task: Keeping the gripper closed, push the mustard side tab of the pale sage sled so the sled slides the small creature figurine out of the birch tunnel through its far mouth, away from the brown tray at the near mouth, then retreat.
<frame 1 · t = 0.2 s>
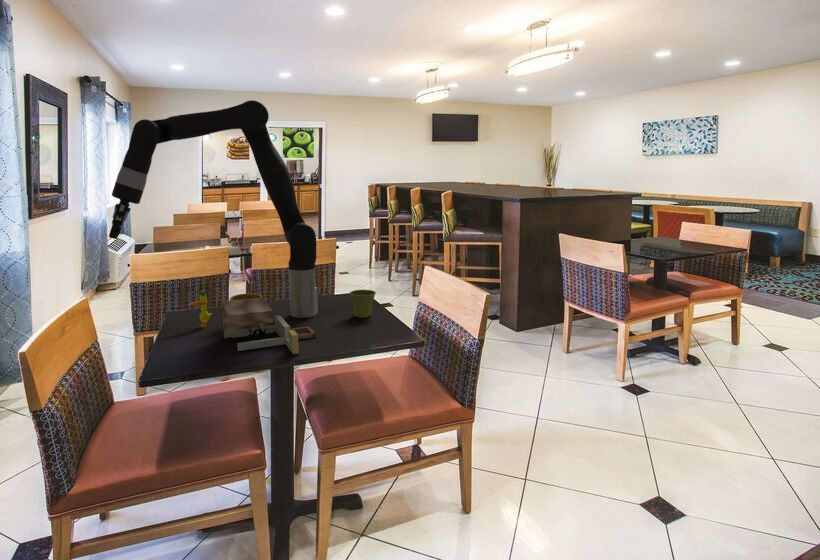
hand: (113, 236, 149), 31 cm above the table, tool tilted 20°, fingers open, 8 cm apart
plant pot: (247, 325, 169), on the table
tunnel: (248, 342, 150), on the table
sled: (263, 335, 147), point 3 cm above the table, slide at 0.0 cm
brown tray: (301, 335, 157), on the table
plant pot 2: (362, 316, 180), on the table
toy figure: (202, 327, 166), on the table
creature: (253, 343, 151), on the table
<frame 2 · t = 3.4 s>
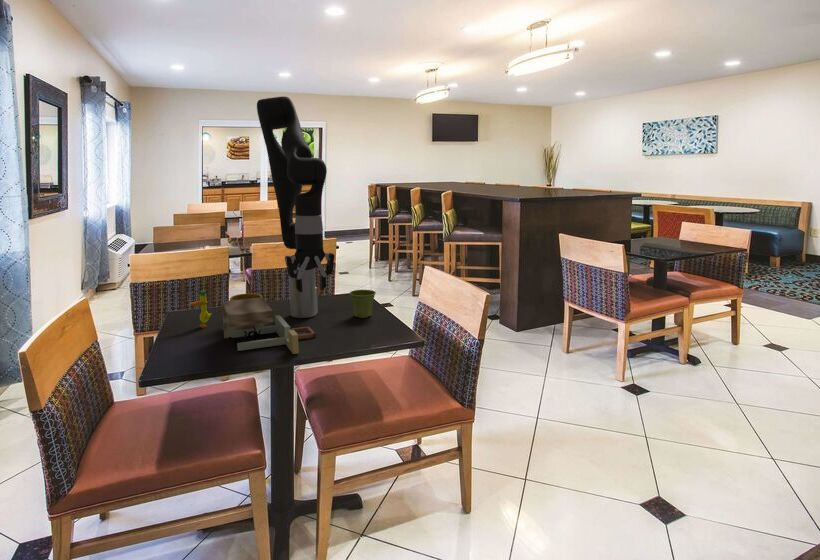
hand: (311, 290, 142), 18 cm above the table, tool pointing down, fingers open, 5 cm apart
creature: (247, 345, 149), on the table
everything else where it was.
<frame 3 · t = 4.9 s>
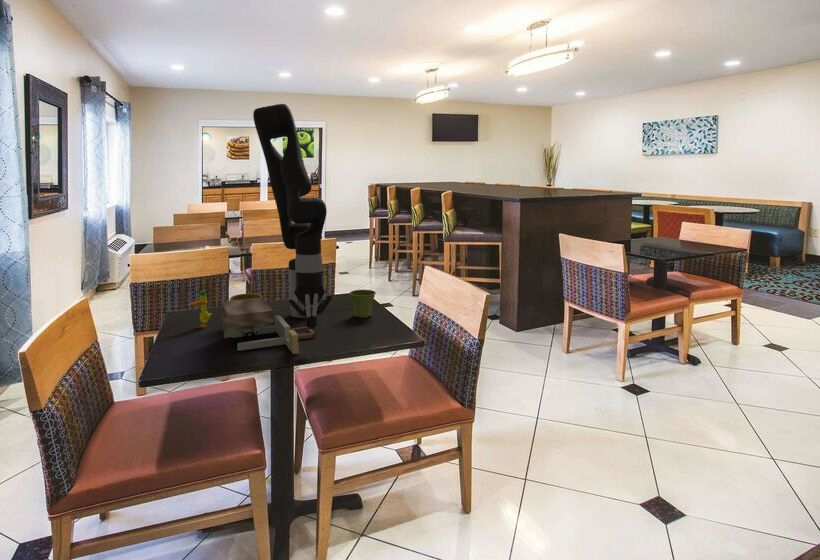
hand: (310, 328, 144), 6 cm above the table, tool pointing down, fingers closed
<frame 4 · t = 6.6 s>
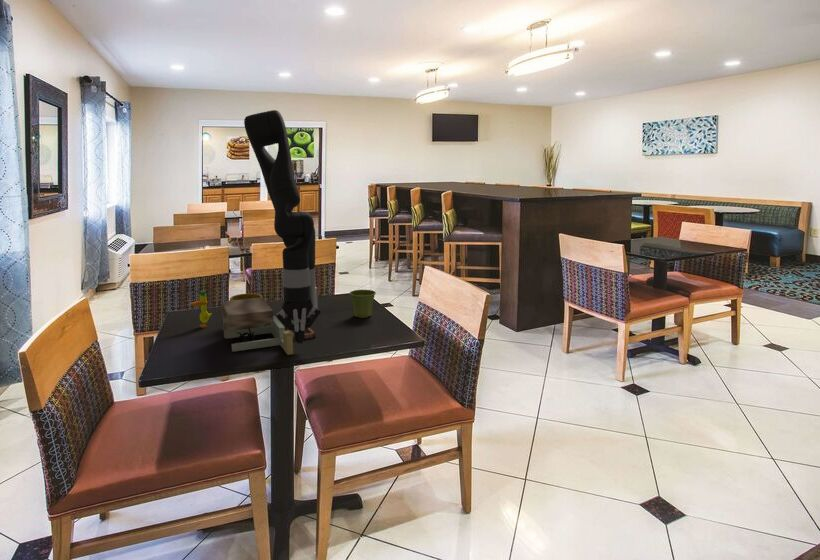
hand: (299, 342, 143), 3 cm above the table, tool pointing down, fingers closed
sled: (257, 336, 147), point 3 cm above the table, slide at 1.6 cm, touching gripper
creature: (241, 346, 148), on the table
everything else where it was.
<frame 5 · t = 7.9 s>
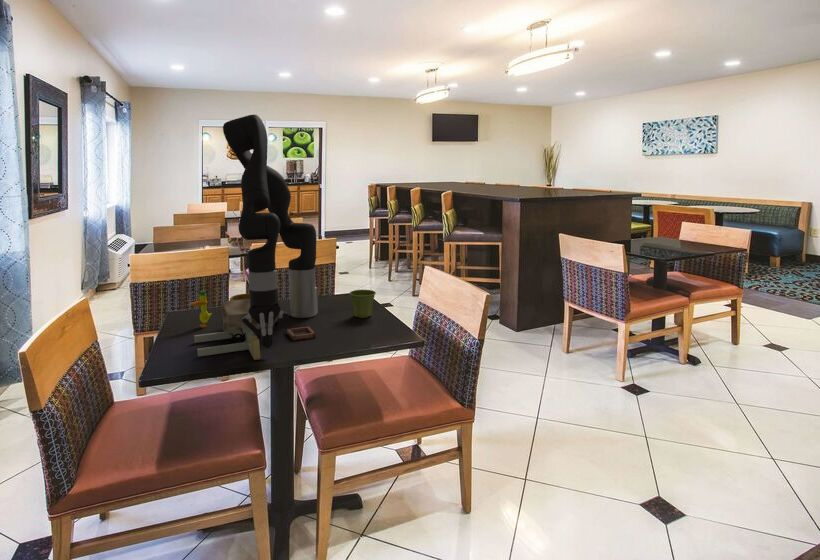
hand: (267, 347, 139), 3 cm above the table, tool pointing down, fingers closed
sled: (225, 340, 143), point 3 cm above the table, slide at 10.6 cm, touching creature, gripper
creature: (232, 347, 147), on the table, touching sled
everything else where it was.
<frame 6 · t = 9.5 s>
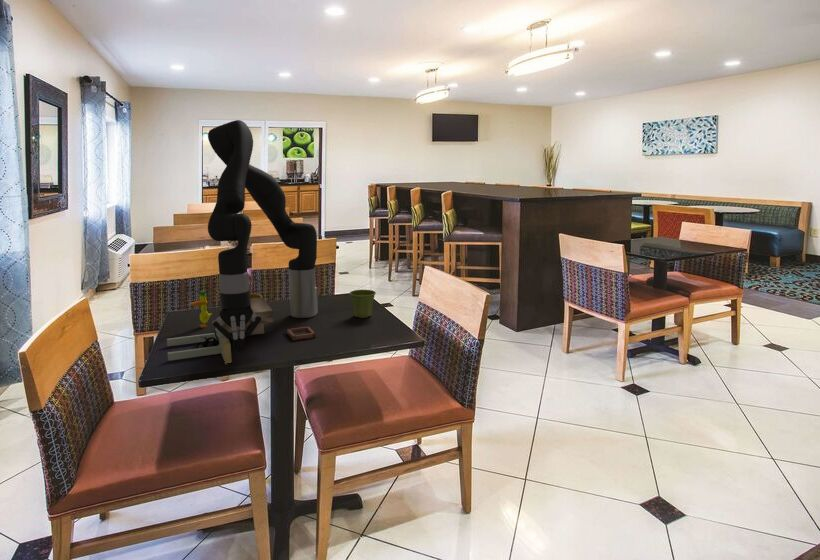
hand: (239, 351, 136), 3 cm above the table, tool pointing down, fingers closed
sled: (197, 344, 139), point 3 cm above the table, slide at 18.0 cm, touching gripper
creature: (205, 351, 144), on the table
everything else where it was.
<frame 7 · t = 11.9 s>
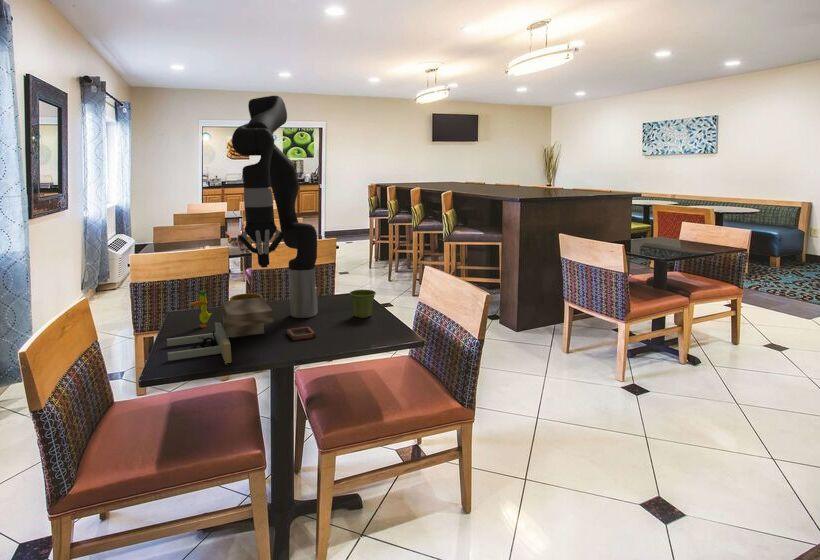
hand: (264, 266, 139), 24 cm above the table, tool pointing down, fingers closed
sled: (197, 344, 139), point 3 cm above the table, slide at 18.0 cm
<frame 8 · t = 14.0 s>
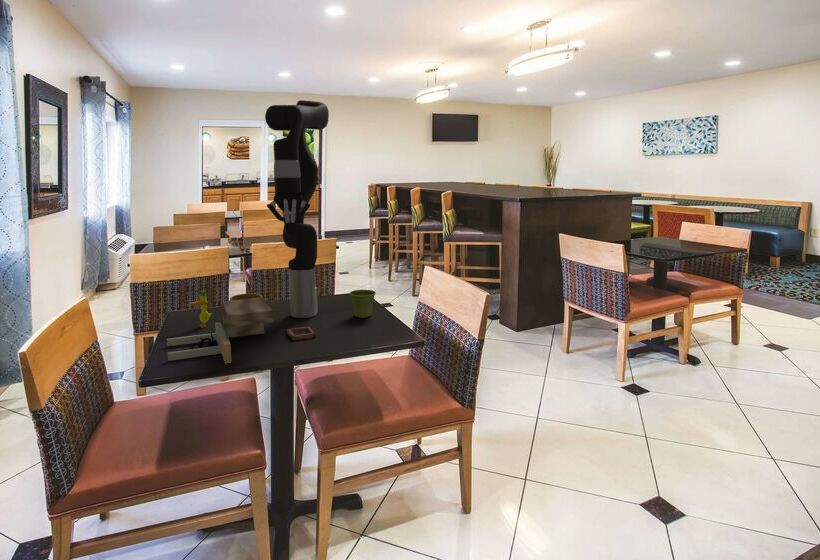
hand: (289, 235, 150), 32 cm above the table, tool pointing down, fingers closed
at the end: creature inside the target area (5.2 cm from its centre), on the table; sled slide at 18.0 cm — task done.
